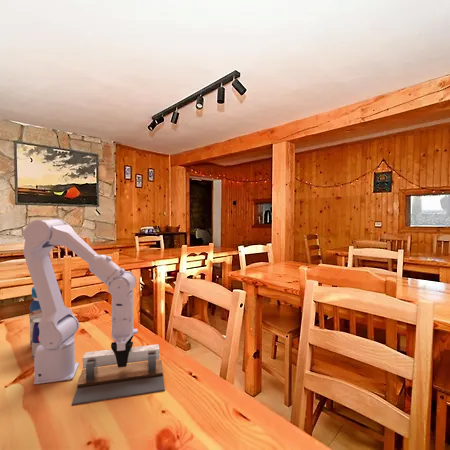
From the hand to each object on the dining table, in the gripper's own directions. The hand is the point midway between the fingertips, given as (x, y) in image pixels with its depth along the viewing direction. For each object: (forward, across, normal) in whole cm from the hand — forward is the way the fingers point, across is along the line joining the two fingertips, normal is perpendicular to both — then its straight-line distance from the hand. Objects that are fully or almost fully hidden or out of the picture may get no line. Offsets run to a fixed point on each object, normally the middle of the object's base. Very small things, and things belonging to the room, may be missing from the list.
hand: (122, 363), depth 81 cm
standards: (+4, 0, 0) cm, 4 cm away
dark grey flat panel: (+4, -7, 0) cm, 8 cm away
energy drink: (+4, +17, +25) cm, 30 cm away
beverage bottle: (+4, +26, +27) cm, 38 cm away
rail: (-1, 0, 0) cm, 1 cm away
